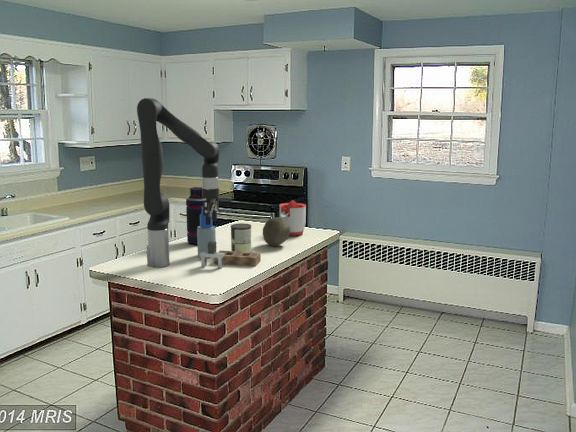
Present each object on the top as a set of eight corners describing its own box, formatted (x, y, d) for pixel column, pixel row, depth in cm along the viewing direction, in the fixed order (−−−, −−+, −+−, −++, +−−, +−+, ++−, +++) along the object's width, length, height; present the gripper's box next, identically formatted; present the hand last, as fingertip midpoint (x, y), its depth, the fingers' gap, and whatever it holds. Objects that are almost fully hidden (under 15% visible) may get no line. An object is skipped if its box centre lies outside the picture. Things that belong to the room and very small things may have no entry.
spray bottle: (219, 254, 272) (218, 204, 267) (210, 259, 264) (209, 207, 259) (203, 252, 275) (202, 203, 270) (194, 257, 267) (192, 206, 262)
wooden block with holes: (214, 263, 256) (214, 255, 255) (220, 258, 265) (220, 250, 264) (255, 266, 252) (255, 257, 251) (260, 260, 261) (260, 252, 260)
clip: (200, 267, 250) (199, 242, 248) (202, 265, 253) (201, 241, 251) (223, 268, 248) (222, 243, 246) (225, 266, 251) (224, 242, 249)
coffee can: (226, 253, 274) (226, 225, 272) (240, 249, 282) (239, 222, 280) (242, 256, 268) (242, 228, 266) (255, 252, 277) (255, 225, 274)
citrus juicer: (271, 235, 314) (271, 200, 310) (289, 229, 328) (289, 196, 324) (294, 238, 305) (294, 203, 301) (311, 233, 319) (311, 199, 315)
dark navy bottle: (203, 246, 288) (201, 189, 282) (183, 244, 292) (181, 188, 286) (215, 240, 301) (213, 186, 295) (195, 238, 304) (194, 185, 299)
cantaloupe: (268, 250, 281) (268, 221, 278) (259, 243, 294) (258, 216, 291) (293, 247, 287) (294, 219, 284) (283, 241, 299) (283, 214, 296)
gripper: (207, 184, 251) (208, 219, 254) (196, 189, 237) (198, 225, 240) (223, 185, 250) (224, 220, 253) (213, 189, 236) (214, 226, 239)
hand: (211, 222), depth 247 cm, fingers open, 8 cm apart
